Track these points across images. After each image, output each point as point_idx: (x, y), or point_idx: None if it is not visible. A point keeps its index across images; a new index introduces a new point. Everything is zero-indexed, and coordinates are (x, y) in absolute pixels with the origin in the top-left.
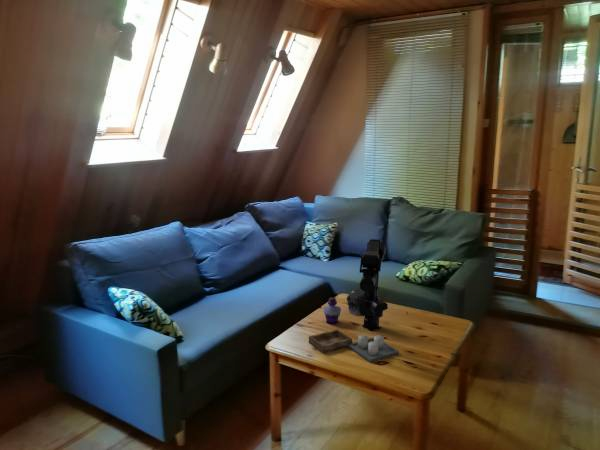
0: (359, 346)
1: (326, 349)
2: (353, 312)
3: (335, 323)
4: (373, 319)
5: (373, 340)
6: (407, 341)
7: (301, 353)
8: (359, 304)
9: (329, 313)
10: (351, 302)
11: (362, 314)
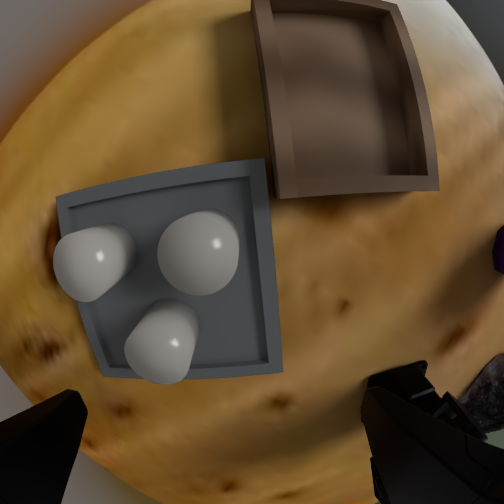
0: (195, 211)
1: (253, 18)
2: (496, 362)
3: (494, 256)
4: (31, 410)
5: (259, 344)
6: (208, 448)
7: None
8: (468, 496)
9: None
10: None
11: (362, 409)
